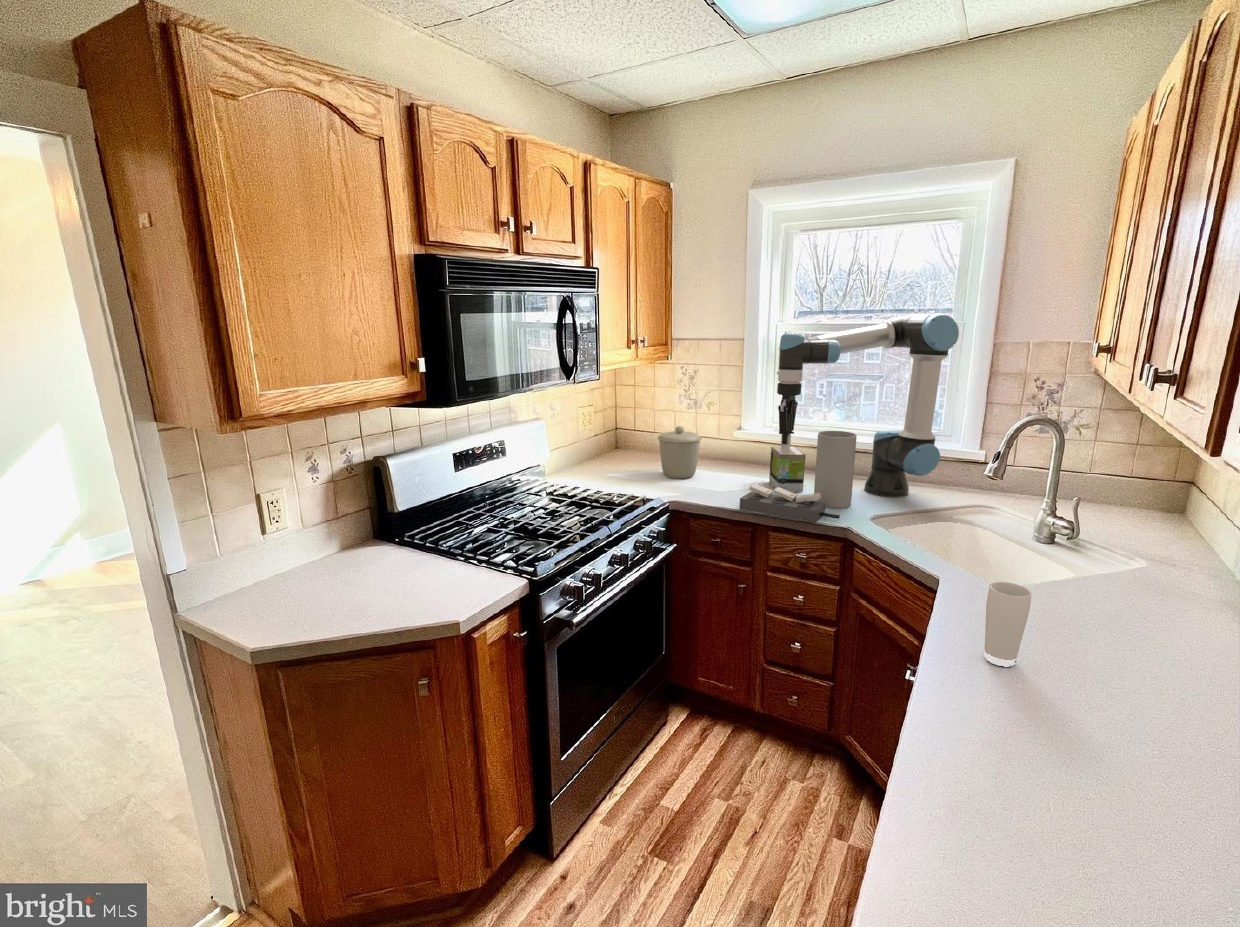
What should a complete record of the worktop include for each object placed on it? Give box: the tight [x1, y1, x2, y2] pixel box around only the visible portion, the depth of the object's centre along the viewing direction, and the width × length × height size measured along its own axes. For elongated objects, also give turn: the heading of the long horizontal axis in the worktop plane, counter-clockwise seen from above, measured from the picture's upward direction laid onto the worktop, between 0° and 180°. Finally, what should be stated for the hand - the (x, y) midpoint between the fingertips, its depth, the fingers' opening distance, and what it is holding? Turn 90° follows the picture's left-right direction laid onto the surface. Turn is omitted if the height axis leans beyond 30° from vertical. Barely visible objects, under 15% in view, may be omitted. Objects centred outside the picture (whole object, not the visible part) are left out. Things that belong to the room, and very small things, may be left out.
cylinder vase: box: [813, 430, 858, 510], centre depth 212 cm, size 12×12×25 cm
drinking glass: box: [984, 581, 1032, 660], centre depth 115 cm, size 7×7×15 cm
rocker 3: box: [796, 493, 821, 502], centre depth 203 cm, size 7×4×2 cm, turn 56°
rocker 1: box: [748, 483, 774, 498], centre depth 212 cm, size 7×4×2 cm, turn 56°
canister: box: [656, 425, 703, 480], centre depth 252 cm, size 18×18×21 cm
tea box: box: [768, 446, 807, 493], centre depth 235 cm, size 15×10×15 cm
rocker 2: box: [772, 487, 798, 501], centre depth 207 cm, size 7×4×2 cm, turn 57°
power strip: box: [739, 491, 841, 523], centre depth 205 cm, size 32×10×5 cm, turn 56°
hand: (785, 453), depth 204 cm, fingers closed
